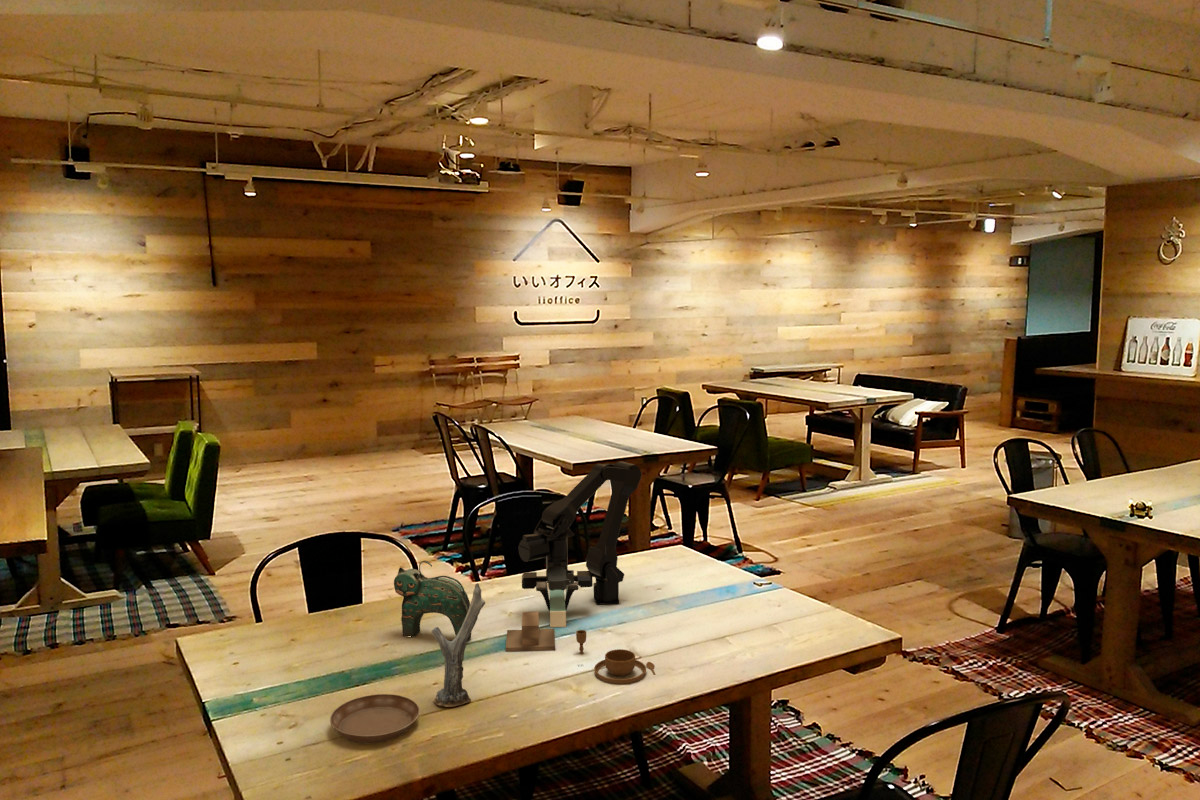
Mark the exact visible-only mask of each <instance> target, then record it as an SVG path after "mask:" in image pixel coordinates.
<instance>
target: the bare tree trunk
mask: <svg viewBox="0 0 1200 800" xmlns="http://www.w3.org/2000/svg"><path fill="white" fill-rule="evenodd" d="M485 604H486V601H485V600H484V599H483V598H482V589H481V586H480V584H479V583H478V582H477V583H475V585H474V588H473V591H472V598H471V601H470V607H469V610H468V613H467V615H466V617H465V620H464V622H463V624H462V627H461V629H460V631H459V633H458V634H457V636H455V637H454V638H453V639H452V640H448V639H447V638H446V637H445V635H444V634H443V632H442V630H441V629H440V627H438V626H437V627H434V628H433V629H432V630H431V634H432V637H433V638H434V640H435V641H436V643H438V645H439V649H440V651H441V654H442V656H443V658H444V677H443V678H444V679H443V688H441V689H439V690H438V691H437V692H436V695H435V698H434V699H433V700H432V701H433V702H434V703H435V704H436V706H437V705H438V706H444V707H446V708H447V707H451V708H452V707H456V706H462V705H465V704H467V703H471V701H472V699H471V698H470V696H469V693H468V691H467V690H466V689H464V688H463V681H462V680H463V678H464V674H463V673H464V666H463V661H464V657H465V651H466V650H465V649H466V646H467V643H468V642H467V639H468V637H469V635H470V633H471V634H472V630H473V629H474V627H475V625H476V624H477V621H478V619H479V618H478V616H479V615H480V613H481V610H482V609H483V607H484V606H485Z"/></svg>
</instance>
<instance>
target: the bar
mask: <svg viewBox="0 0 1200 800" xmlns="http://www.w3.org/2000/svg"><path fill="white" fill-rule="evenodd" d="M548 593H549V600H550V611H549V626H550V628H567V610H566V609H565V596H566V594H565V590H553V591H552V590H549V589H548Z"/></svg>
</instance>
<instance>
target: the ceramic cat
mask: <svg viewBox="0 0 1200 800" xmlns="http://www.w3.org/2000/svg"><path fill="white" fill-rule="evenodd" d="M422 563H426V564H428V565H429V566H430V567H431V568H432V566H433V565H432V563H430V561H428V560H422V561H420V563H419V565H418V569H415V568H409V569H407V570H405V569H404V568H403V567H399V568H398V572H397V575H396V576H395V578H393V588H394V591H395V593H396V594H397V595H399V596H401V597H403V599H402V603H401V618H400V621H401V626H402V627H401V628H402V630H401V631H402V637H405V636H411V637H410V638H413V637H412V636H415V637H416V636H418V634H420V632H421V622H422V621H421V620H422V618H423V616H424V615H425V614H433V613H436V614H441V615H443V616H446V617H447V618H448V619H449V621H450V623H451V626H452V627H453V632H454V635H455V637H456V636H457V634H458V633H459V631H460V629H461V627H462V624H463V622H464V620H465V617H466V615H467V613H468V610H469V607H470V604H471V601H470V599H469V597H468V594H467V592H466V590H465V587H464V586H463V584H462V583H461V582H460V581H459V580H458V579H456V578H454V577H451V576H448V575H439V576H434V577H426V576H425V574H423V572H421V564H422ZM471 639H472V632H471V633H470V635H469V637H468V639H467V643H469V641H470V640H471Z"/></svg>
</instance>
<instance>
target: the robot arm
mask: <svg viewBox="0 0 1200 800" xmlns="http://www.w3.org/2000/svg"><path fill="white" fill-rule="evenodd" d="M640 468H641V467H639V466H638V465H637V464H633V463H630V462H625V461H617V462H616V463H603V464H601V463H596V464H594V466H592V468H591V470H590V471H589V472H588V473H587V474H586V475H585V476H584V477H583V479H581V480H580V481H579V482H578V483H577V484H576V486H574V487H573V488H572V489H571V490H570V491H569V493H567V494H566V496H564V497H563V498H562V499H558V500H556V501H554V502H552V503H551V504H550V505H549V506H547V507H546V508H545V509H544V510H543V511H542V514H541V515H542V516H541V518H540V520H539V521H538V522H537V524H536V526H535V529H534V531H533V533H532V534H524V535H522V539H521V540H520V542H519V544H518V547H517V548H518V554H519V557H520V559H521V560H522V561H523V562H525V563H527V562H531V561H536V560H540V559H545V564H546V565H545V566H546V567H545V569H546V570H545V575H537V574H538V572H537V571H529V572H528V571H527V572H523V573H522V575H521V589H523V590H529V589H530V590H531V589H535V591H536V592H539V593H541V595H542V597H543V599H544V602H545V604H546V607H547V611H548V612H550V594H549V590H552V591H553V590H564V591H565V609H566V611H567V609H568V607H569V603H570V600H571V598H572V596H573V593H574V592H575V591H578V590H579V587H580V588H592V587H593V600H594V601H595V604H596V605H618V604H620V603H621V602H620V598H619V595H620V594H619V593H620V592H619V590H620V588H619V583H621V582H623V581H624V577H625V573H624V572H623V571H622V570H620V568H618V567H617V566H618V560H619V559H618V553H617V552H618V551H617V548H616V546H617V542H618V539H619V536H620V531H621V527H622V524H623V520H624V517H625V513H626V509H627V506H628V502H629V499H630V496H631V495H632V494H633V493H634V492H635V491H636V490H637V489H638V486H639V484H640V481H641V479H642V473H643V472H642V470H641V469H640ZM607 481H609V482H610V489H611V494H610V497H609V498H610V499H609V503H608V505H607V508H606V513H605V516H604V521H603V524H602V527H601V531H600V536H599V538H598V542H596V544H595V545H594V546H591V545H590V546H588V549H587V554H586V557H585V559H584V560H585V561H586V562H585V567H586V568H587V570H577V571H576V574H574V573H575V571H574V570H573V569H569V568H568V567H569V566H568V560H569V559H568V538H570V537H571V538H572V537H574V536H575V533H574V532H573V531H572V530H570V527H571V525H572V524H573V522H574V521H575V519H576V517H577V513H578V512H579V509H580V508H581V507H582V506H583V505H585V503H587V501H588V500H589V499H590V498H591V497H592V496H593V495H594V494H595V493H596V492H597V491H598V490H599V488H601V487H602V486H603V485H604V484H605V483H606V482H607ZM547 528H549V529H551V530H549V529H547ZM593 578H595V582H593Z"/></svg>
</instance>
